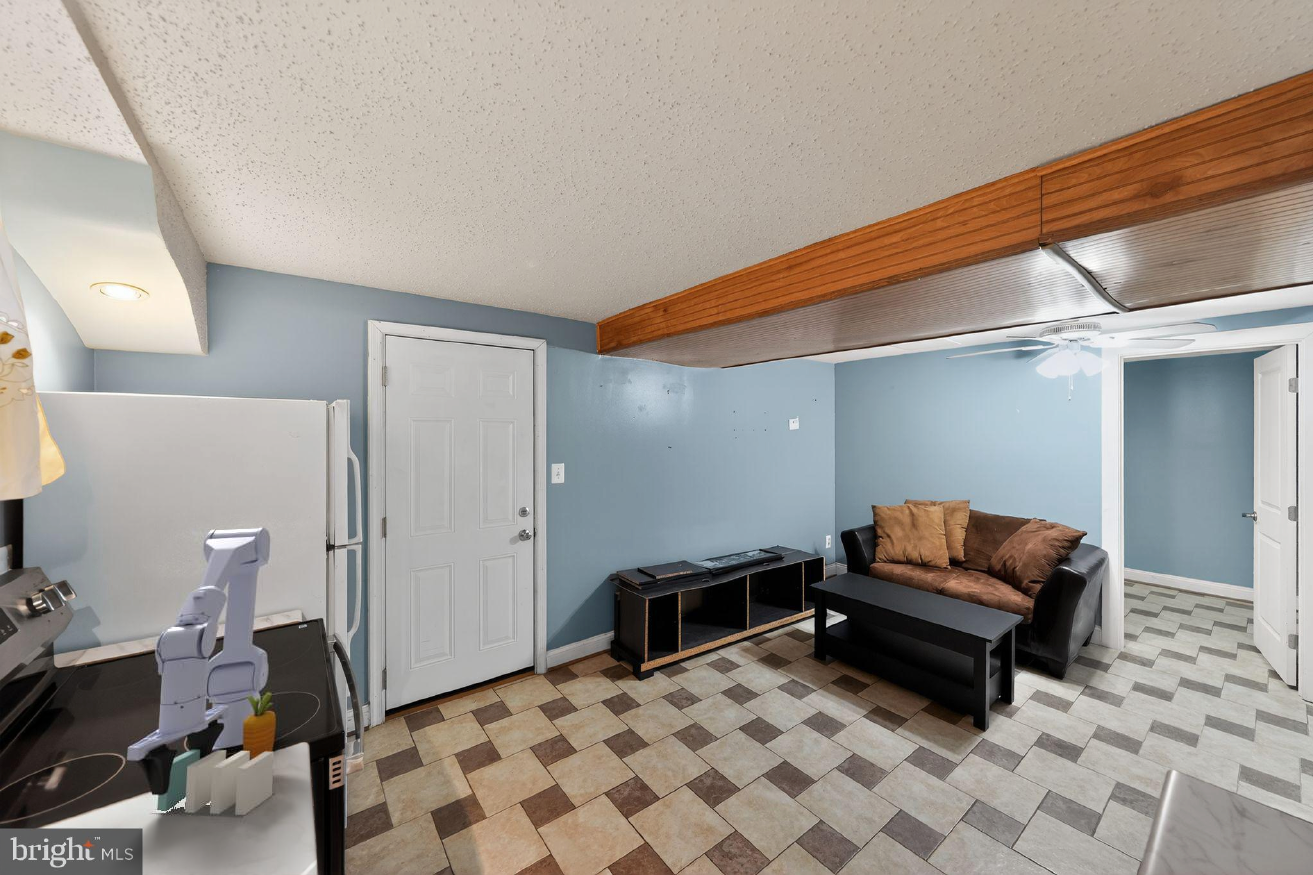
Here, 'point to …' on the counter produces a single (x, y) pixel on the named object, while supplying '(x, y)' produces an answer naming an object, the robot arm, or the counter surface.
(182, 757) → the tile
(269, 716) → the carrot
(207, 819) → the counter surface
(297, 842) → the counter surface
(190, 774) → the domino
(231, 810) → the mat
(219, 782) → the domino
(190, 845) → the counter surface
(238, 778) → the domino
